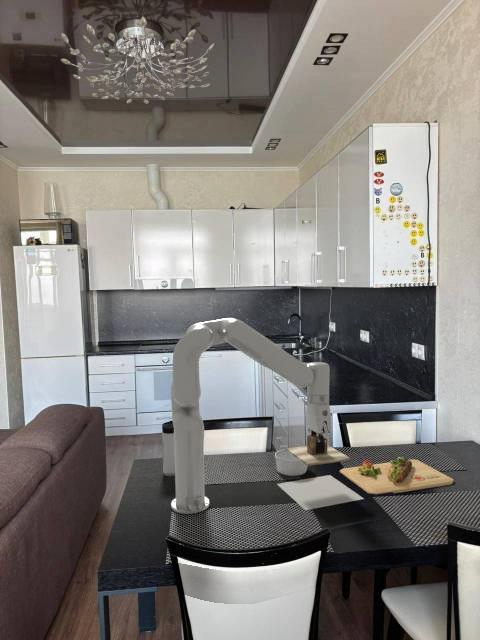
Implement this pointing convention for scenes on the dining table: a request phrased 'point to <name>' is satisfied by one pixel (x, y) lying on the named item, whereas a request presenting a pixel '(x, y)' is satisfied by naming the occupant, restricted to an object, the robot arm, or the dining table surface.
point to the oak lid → (311, 457)
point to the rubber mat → (319, 492)
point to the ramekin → (289, 464)
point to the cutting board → (395, 476)
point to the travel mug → (168, 449)
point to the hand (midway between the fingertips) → (317, 450)
